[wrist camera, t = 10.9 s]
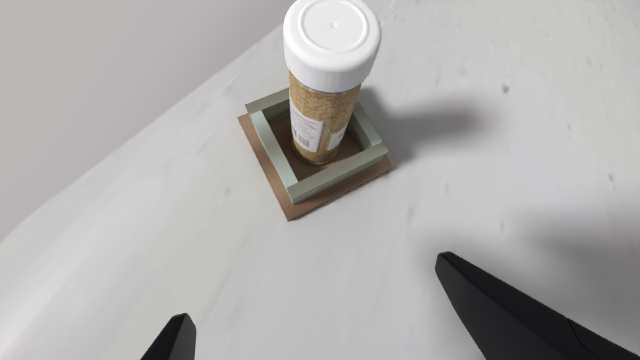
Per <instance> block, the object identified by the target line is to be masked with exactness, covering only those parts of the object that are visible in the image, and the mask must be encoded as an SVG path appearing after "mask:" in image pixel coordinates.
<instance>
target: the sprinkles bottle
mask: <svg viewBox="0 0 640 360" xmlns="http://www.w3.org/2000/svg"><path fill="white" fill-rule="evenodd" d="M283 36H284V53H285V60H286V63H287V66H288V69H289V79H290V81H289V82H290V87H289V98H290V113H291V126H292V133H293V138H292V147H293V149H294V152H295V154H296V156H297V157H298V158H299V159H300V160H302V161H303V162H305V163H307V164H310V165H323V164H326V163H328V162H329V161H331V160H332V159H333V158H334V157H335V156H336V154H337V152H338V150H339V146H340V141H341V140H342V138H343V135H344V132H345V129H346V127H347V124H348V121H349V118H350V116H351V113H352V110H353V107H354V102H355V100H356V97H357V94H358V91H359V89H360V87H361V83H362V82H363V81H364V80H365V79H366V77H367V76H368V75H369V73H370V71H371V69H372V66H373V64H374V61H375V58H376V55H377V53H378V50H379V47H380V43H381V27H380V23H379V20H378V18H377V16H376V15H375V13H374V12H373V10H372V9H371V8H370V7H369V6H368V5H367V4H366V3H365V2H364V1H362V0H297V1H296V2H295V3H294V4H293V5H292V6H291V7H290V9H289V10H288V12H287V14H286V17H285V20H284V26H283Z"/></svg>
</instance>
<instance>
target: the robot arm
mask: <svg viewBox="0 0 640 360" xmlns="http://www.w3.org/2000/svg"><path fill="white" fill-rule="evenodd" d="M435 272H436V274H437V276H438V278H439V280H440V282H441V284H442V286H443V288H444V290H445V292H446V294H447V296H448V298H449V300H450V302H451V304H452V305H453V307H454V309H455V311H456V313H457V315H458V316H459V318H460V319H461V321H462V323H463V324H464V326H465V327H466V329H467V330H468V332H469V333H470V335H471V337H472V338H473V340H474V341H475V343H476V344H477V346H478V348H479V349H480V351H481V352H482V354H483V355H484V357H485V358H486V360H640V356H638V355H636V354H634V353H632V352H630V351H628V350H626V349H625V348H623V347H621V346H619V345H617V344H615V343H613V342H611V341H609V340H607V339H605V338H603V337H601V336H600V335H598V334H596V333H594V332H592V331H590V330H589V329H587V328H585V327H583V326H581V325H580V324H578V323H576V322H574V321H573V320H571V319H569V318H566V317H565V316H564V315H562V314H560V313H558V312H556V311H555V310H553V309H551V308H549V307H548V306H546V305H544V304H542V303H541V302H539V301H537V300H535V299H533V298H532V297H530V296H528V295H526V294H525V293H523V292H521V291H519V290H518V289H516V288H514V287H512V286H510V285H509V284H507V283H505V282H503V281H502V280H500V279H498V278H496V277H494V276H493V275H491V274H489V273H487V272H486V271H484V270H482V269H480V268H479V267H477V266H475V265H473V264H471V263H470V262H468V261H466V260H464V259H463V258H461V257H459V256H457V255H456V254H454V253H452V252H449V251H447V252H443V253H439V254H438V256H437V261H436V265H435ZM195 344H196V327H195V325H194V323H193V321H192V320H191V318H190V316H189V315H188V314H187V313H182V314H178V315H175V316H173V317H172V318H171V319H170V320H169V322H168V323H167V324H166V326H165V327H164V328H163V330H162V331H161V332H160V334H159V335H158V336H157V338H156V339H155V340H154V342H153V343H152V345H151V346H150V347H149V349H148V350H147V351H146V353H145V354H144V355H143V357H142V358H141V359H140V360H194V358H195Z"/></svg>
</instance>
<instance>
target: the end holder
mask: <svg viewBox="0 0 640 360" xmlns="http://www.w3.org/2000/svg"><path fill="white" fill-rule="evenodd" d="M245 106H246V109H247V111H248V113H247V114H245V115H242V116H240V117H237V118H238V120H239V122H240V124H241V126H242V128H243V130H244V132H245V134H246V136H247V138H248V140H249V143H250V145H251V147H252V149H253V151H254V153H255V155H256V157H257V159H258V161H259V163H260V165H261V167H262V169H263V171H264V173H265V175H266V177H267V179H268V181H269V183H270V185H271V187H272V189H273V191H274V193H275V196H276V198H277V200H278V202H279V204H280V206H281V208H282V210H283V212H284V214H285V216H286V218H287V220H288V221H290V220H292V219H294V218H296V217H298V216H300V215H302V214H304V213H306V212H308V211H310V210H312V209H314V208H316V207H318V206H320V205H322V204H324V203H326V202H328V201H330V200H332V199H334V198H336V197H338V196H339V195H341V194H343V193H345V192H347V191H349V190H351V189H353V188H355V187H357V186H359V185H361V184H363V183H365V182H367V181H369V180H371V179H373V178H375V177H377V176H379V175H381V174H383V173H385V172H387V171H389V170H390V169H391V168H392V166H391V164H390V163H389V161H388V159H387V158H386V156H385V155H386V154H387V153H388V152H389V150H388V149H387V147H386V145H385V144H384V142H383V141H382V139H381V137H380V136H379V134H378V132H377V131H376V129H375V127H374V126H373V124H372V123H371V121H370V119H369V118H368V116H367V114H366V113H365V111H364V110H363V108H362V106H361V105H360V103H359V101H358V100H357V98H356V100H355V102H354V107H353V110H352V113H351V116H350V118H349V121H348V124H347V127H346V129H345V132H344V135H343V138H342V140H341V141H340V146H339V150H338V152H337V154H336V156H335V157H334V158H333V159H332V160H331V161H329V162H328V163H326V164H323V165H310V164H307V163H305V162H303V161H302V160H300V159H299V158H298V157H297V156H296V154H295V152H294V149H293V147H292V138H293V133H292V126H291V113H290V98H289V88H286V89H284V90H281V91H279V92H276V93H274V94H271V95H269V96H266V97H264V98H261V99H259V100H256V101H254V102H251V103H249V104H246V105H245Z"/></svg>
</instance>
